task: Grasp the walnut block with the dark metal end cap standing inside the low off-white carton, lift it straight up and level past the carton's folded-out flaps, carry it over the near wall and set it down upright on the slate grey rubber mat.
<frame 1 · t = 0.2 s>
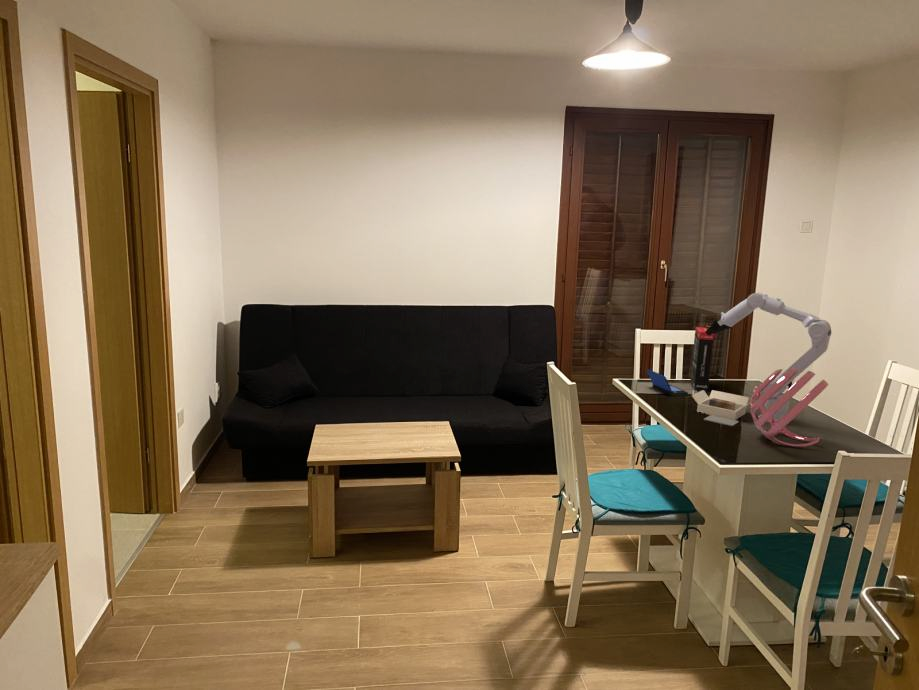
hand: (710, 332, 284), 31 cm above the table, tool tilted 45°, fingers open, 7 cm apart
grey mat: (721, 421, 266), on the table
capped block: (721, 407, 278), in the carton
carton: (721, 412, 278), on the table
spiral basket: (782, 440, 246), on the table
graphics card box: (698, 387, 321), on the table
handheld game console: (666, 392, 309), on the table
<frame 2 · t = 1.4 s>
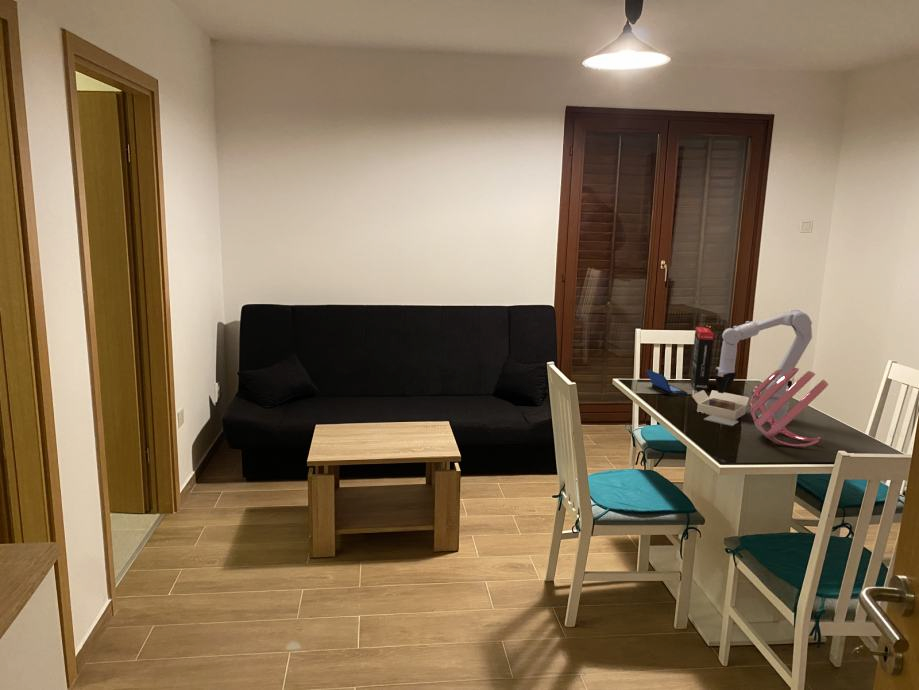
hand: (723, 391, 276), 9 cm above the table, tool pointing down, fingers open, 7 cm apart
nothing on the table moved.
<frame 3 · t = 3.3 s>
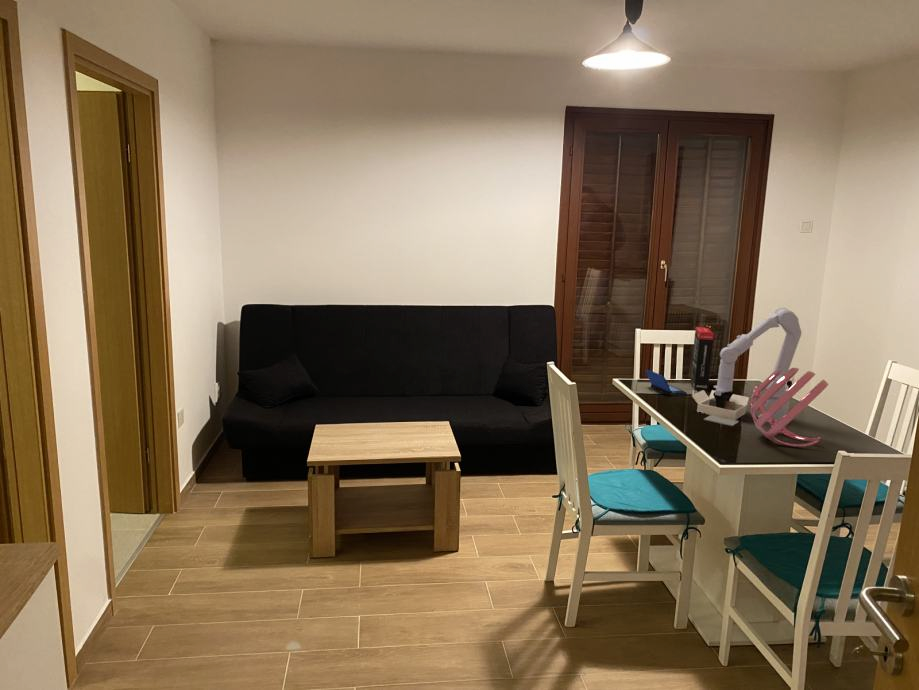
hand: (721, 409, 278), 1 cm above the table, tool pointing down, fingers closed on capped block, 4 cm apart
capped block: (721, 406, 278), in the carton, touching gripper
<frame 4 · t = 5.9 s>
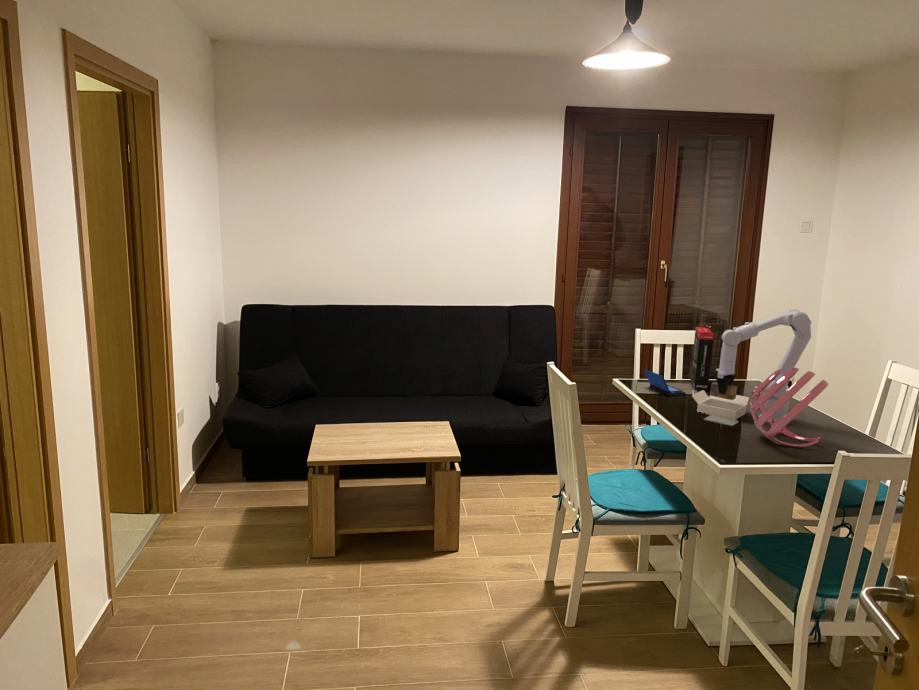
hand: (723, 392, 275), 9 cm above the table, tool pointing down, fingers closed on capped block, 4 cm apart
capped block: (723, 390, 275), point 9 cm above the table, touching gripper
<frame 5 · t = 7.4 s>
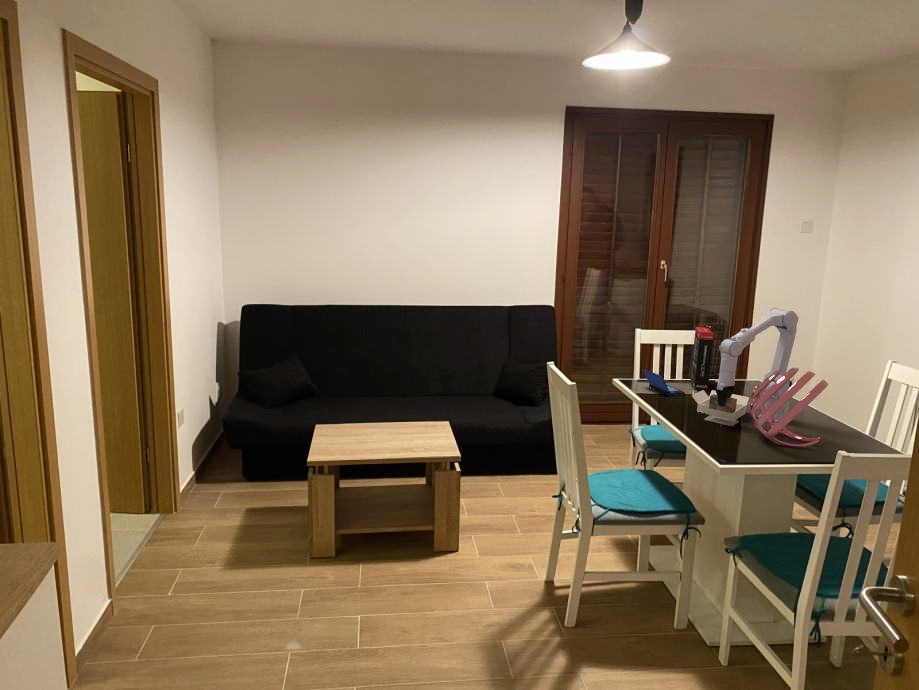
hand: (723, 404, 265), 7 cm above the table, tool pointing down, fingers closed on capped block, 4 cm apart
capped block: (722, 403, 265), point 7 cm above the table, touching gripper
when the fingers open (3 cm above the table, at t = 8.8 s): capped block stays where it is, resting on grey mat.
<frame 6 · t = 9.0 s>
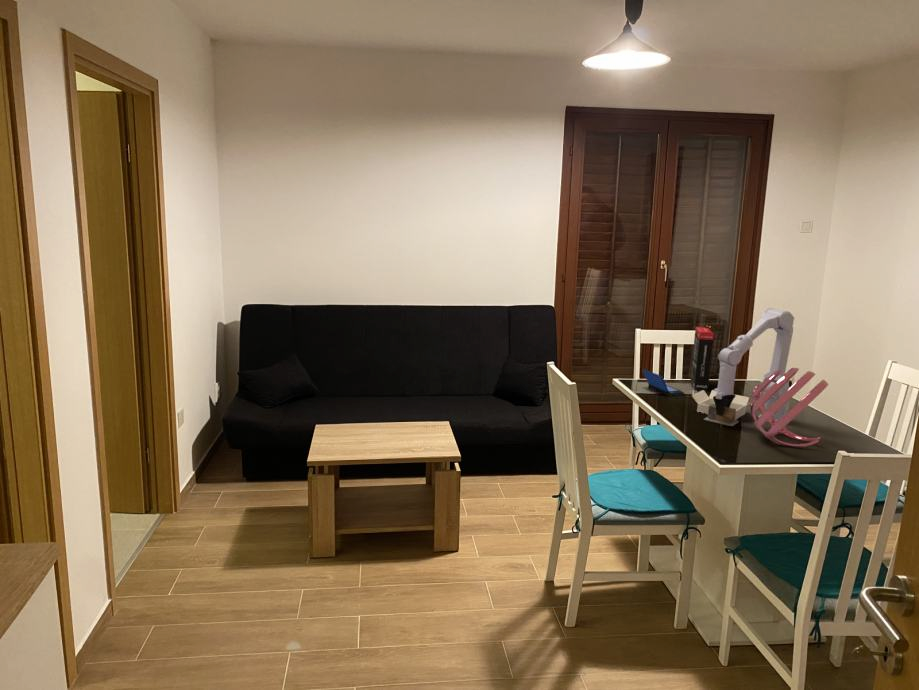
hand: (722, 413, 266), 3 cm above the table, tool pointing down, fingers open, 6 cm apart
capped block: (721, 413, 266), on the grey mat
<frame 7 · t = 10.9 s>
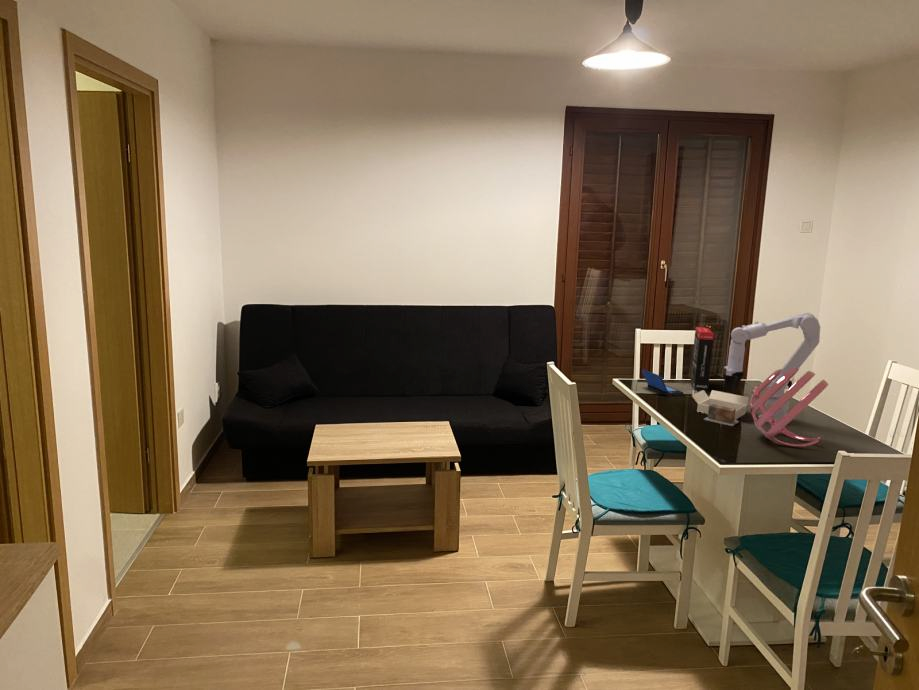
hand: (731, 390, 277), 9 cm above the table, tool pointing down, fingers open, 7 cm apart
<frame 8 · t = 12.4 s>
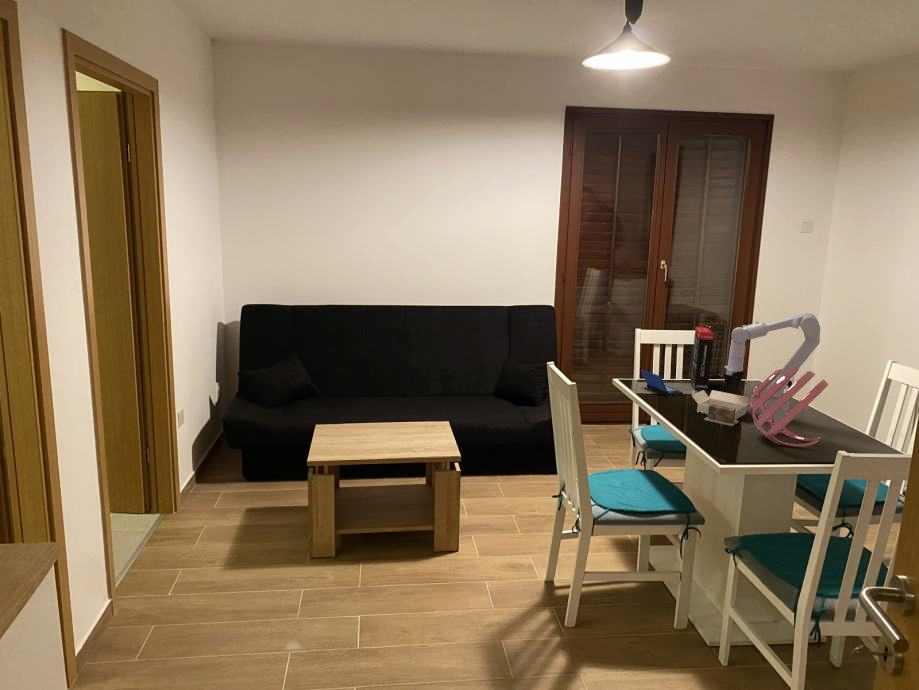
hand: (732, 389, 278), 9 cm above the table, tool pointing down, fingers open, 7 cm apart
at the end: capped block 0.2 cm off-centre on the grey mat, point 2.9 cm above the grey mat's base; capped block tilted 0°; the gripper is holding nothing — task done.
